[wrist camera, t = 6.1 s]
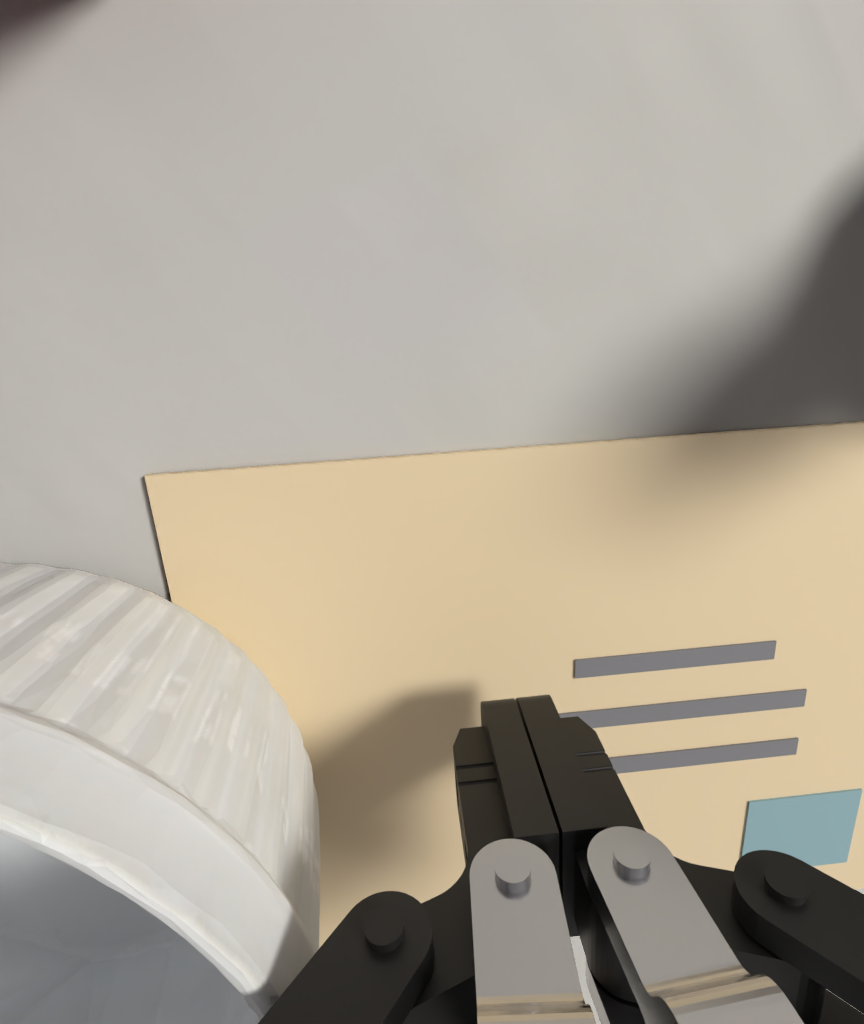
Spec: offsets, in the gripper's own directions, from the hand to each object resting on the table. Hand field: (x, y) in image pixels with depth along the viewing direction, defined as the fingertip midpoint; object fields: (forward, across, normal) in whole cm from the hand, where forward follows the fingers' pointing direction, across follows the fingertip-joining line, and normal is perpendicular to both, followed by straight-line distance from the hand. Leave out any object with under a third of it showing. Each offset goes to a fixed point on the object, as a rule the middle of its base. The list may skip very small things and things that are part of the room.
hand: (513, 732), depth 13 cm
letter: (+2, -2, +1) cm, 3 cm away
